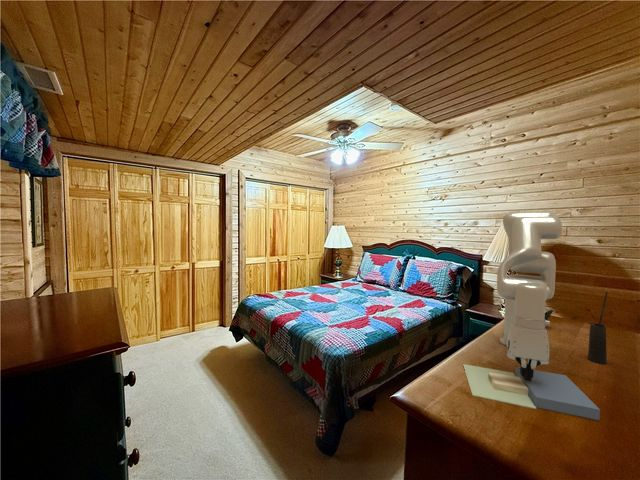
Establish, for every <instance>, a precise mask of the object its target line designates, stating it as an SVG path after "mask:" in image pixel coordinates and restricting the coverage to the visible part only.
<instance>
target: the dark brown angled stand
mask: <svg viewBox="0 0 640 480" xmlns="http://www.w3.org/2000/svg"><path fill="white" fill-rule="evenodd" d="M553 312H554V309H550V310H547V311H545V320H547V321H549V319H550V317H551V315H552V314H553Z"/></svg>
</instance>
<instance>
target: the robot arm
mask: <svg viewBox="0 0 640 480" xmlns="http://www.w3.org/2000/svg"><path fill="white" fill-rule="evenodd" d="M502 224H503V229H504V231H505V233H506V236H507V238H508V255H507V256H506V257H505V258H504V259H503V260H502V262H500V263H499V266H498V268H497V272H496V278H497V279H496V291H497V293H498V294H497V295H498V296H499V297H501V298H502V299H504V319H503V320H504V323H503V324H504V325H503V336H501V337H499V342H500V343H501V344H502V345H504V346H506V349H507V353H506V357H507V358H508V359H509V360H510V359H511V360H513V361H516V362H517V363H518V364H519V365H520V366H519V368H520V375H521V376H522V377H523V378H524V380H526V381H527V380H528V381H531V379H532V378H533V371H534V370H536V368H538V367H539V366H540V365H548V364H550V362H549V359H550V342H549V340H550V339H549V335H548V331H547V328H546V326H550V325H551V321H550V320H545V313H546V301H547V300H550V299H552V298H553V297H554V295H555V289H556V271H557V269H556V268H557V266H556V265H557V262H556V258H555V256H554V254H553V253H552V252H549V251H542V240H557V239H559V238H560V237H561V236H562V233H563V224H562V221H561V218H560V217H559V216H558V214H557V213H556V212H554V211H549V210H548V211H513V212H508V213H506V214H504V216H503V217H502ZM509 270H511V271H513V272H518V273H527V275H526V274H514V273H512V274H508V275H507V272H508V271H509ZM528 273H529V274H539V275H540V276H538V275H528ZM526 360H527V361H526Z"/></svg>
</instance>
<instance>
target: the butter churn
mask: <svg viewBox="0 0 640 480" xmlns="http://www.w3.org/2000/svg"><path fill="white" fill-rule="evenodd" d="M607 297H608V291H606V292H605V295H604V299H603V301H602V302H603V303H602V307H601V308H602V309H601V311H600V316H599V321H598V323H592V322H591V321H588V322H587V323H588V324H589V325H590V326H589V335H588V336H589V337H588V338H589V339H588V352H587V359H588V360H590V361H592V362H594V363H595V364H600V365H607V364H608V356H607V341H608V340H607V327H606V325H605V324H602V318H603V315H604V310H605V305H606V301H607Z"/></svg>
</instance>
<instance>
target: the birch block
mask: <svg viewBox="0 0 640 480" xmlns="http://www.w3.org/2000/svg"><path fill="white" fill-rule="evenodd" d="M488 378H489V380H490V382H491V384H492V386H493V388H494V389H495V390H501V391H507V392H512V393H518V394H523V395H528V391H529V389H528V388H527V386H526V385H525V384H524V382H523V381H522V380H521V378H520V377H516V376H510V375H504V374H498V373H491V372H488Z"/></svg>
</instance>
